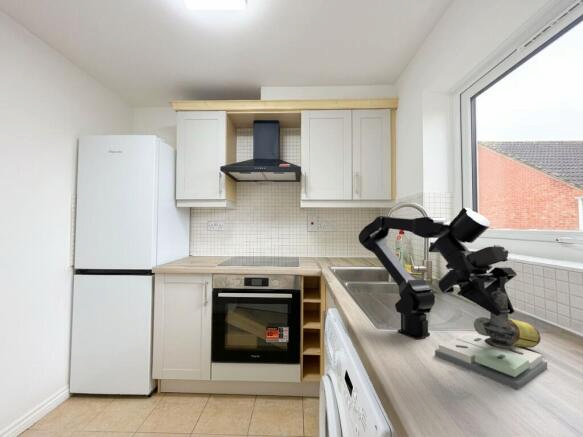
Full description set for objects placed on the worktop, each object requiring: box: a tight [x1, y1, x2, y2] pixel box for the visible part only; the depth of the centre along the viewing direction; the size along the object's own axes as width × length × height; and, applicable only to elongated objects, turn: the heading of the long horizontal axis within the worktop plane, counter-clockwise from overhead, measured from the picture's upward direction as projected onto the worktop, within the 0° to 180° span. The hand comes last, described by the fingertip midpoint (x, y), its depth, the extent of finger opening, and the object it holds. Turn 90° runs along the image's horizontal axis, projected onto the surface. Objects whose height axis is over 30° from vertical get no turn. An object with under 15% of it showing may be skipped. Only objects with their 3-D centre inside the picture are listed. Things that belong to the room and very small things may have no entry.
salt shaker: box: [482, 287, 517, 350], centre depth 57 cm, size 6×6×12 cm
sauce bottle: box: [473, 316, 541, 349], centre depth 66 cm, size 7×6×20 cm
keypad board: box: [434, 332, 548, 390], centre depth 62 cm, size 16×16×3 cm
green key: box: [475, 347, 529, 377], centre depth 56 cm, size 7×7×3 cm
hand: (506, 314), depth 55 cm, fingers closed on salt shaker, 4 cm apart
